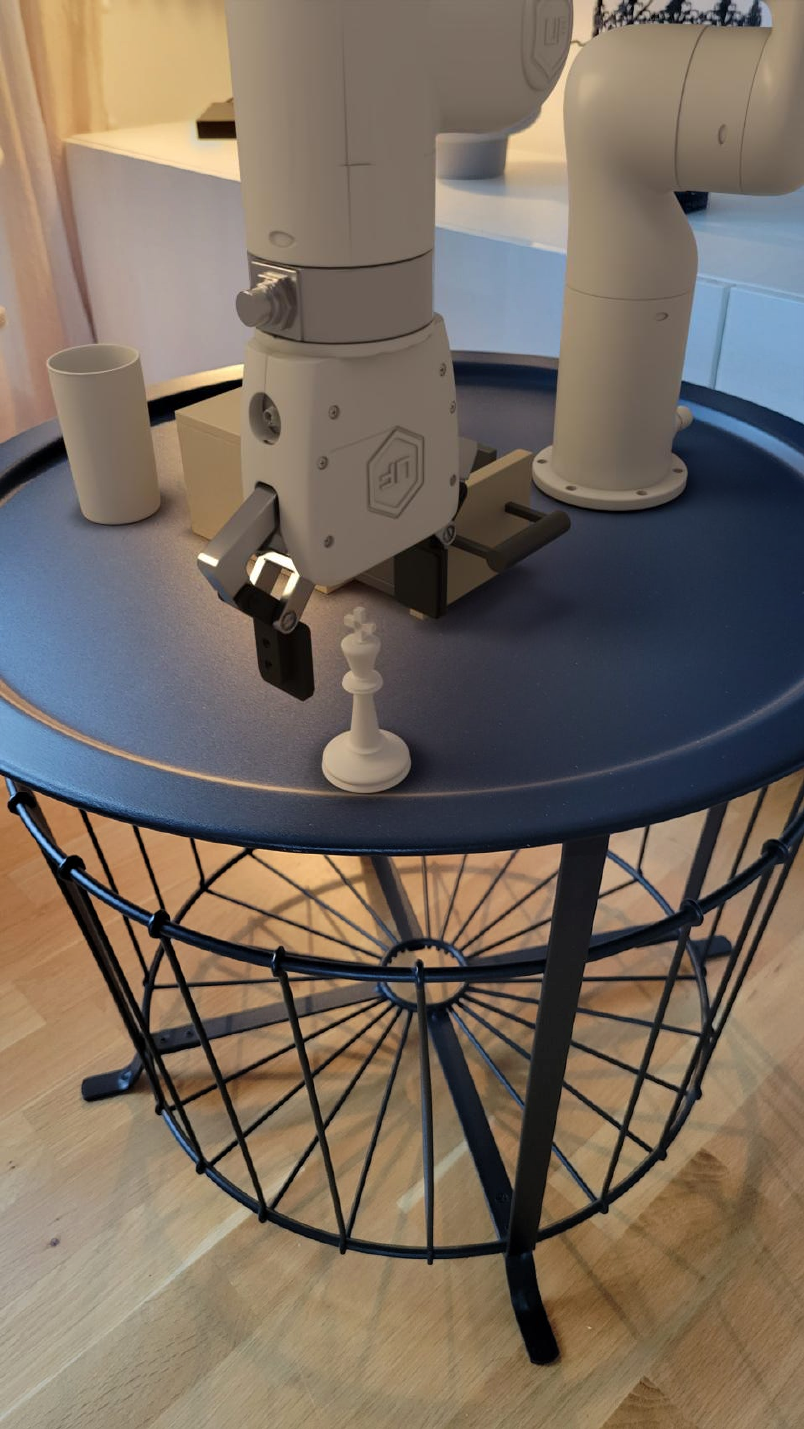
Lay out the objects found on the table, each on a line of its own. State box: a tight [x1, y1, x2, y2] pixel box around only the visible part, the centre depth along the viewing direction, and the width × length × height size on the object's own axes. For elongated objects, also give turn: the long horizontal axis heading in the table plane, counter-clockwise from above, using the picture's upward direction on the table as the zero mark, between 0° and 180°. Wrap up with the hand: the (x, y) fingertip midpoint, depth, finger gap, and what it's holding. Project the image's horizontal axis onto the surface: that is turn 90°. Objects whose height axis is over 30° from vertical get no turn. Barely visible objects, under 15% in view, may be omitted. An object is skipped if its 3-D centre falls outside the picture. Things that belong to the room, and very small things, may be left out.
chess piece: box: [321, 605, 412, 794], centre depth 55 cm, size 5×5×10 cm
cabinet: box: [174, 386, 355, 595], centre depth 78 cm, size 15×13×10 cm
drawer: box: [353, 442, 572, 621], centre depth 72 cm, size 18×11×8 cm, turn 48°
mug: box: [45, 343, 162, 525], centre depth 82 cm, size 10×7×12 cm, turn 178°
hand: (357, 646), depth 53 cm, fingers open, 9 cm apart
